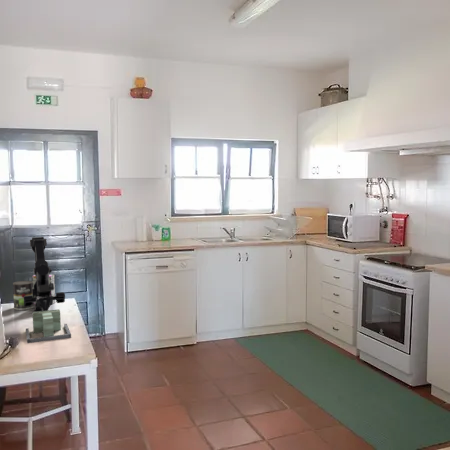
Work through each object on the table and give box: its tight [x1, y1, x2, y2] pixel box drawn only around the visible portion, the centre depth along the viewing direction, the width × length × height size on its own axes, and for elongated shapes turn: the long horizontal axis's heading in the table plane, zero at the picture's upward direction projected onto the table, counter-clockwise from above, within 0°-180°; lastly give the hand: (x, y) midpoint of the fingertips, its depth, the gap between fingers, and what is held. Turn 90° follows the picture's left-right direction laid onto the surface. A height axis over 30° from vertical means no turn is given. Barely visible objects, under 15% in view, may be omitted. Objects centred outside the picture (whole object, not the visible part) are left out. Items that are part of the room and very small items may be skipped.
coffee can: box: [12, 280, 35, 311], centre depth 277 cm, size 10×10×14 cm
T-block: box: [32, 308, 62, 337], centre depth 232 cm, size 14×12×9 cm
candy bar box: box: [31, 274, 56, 305], centre depth 285 cm, size 11×5×16 cm, turn 84°
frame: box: [25, 323, 72, 344], centre depth 230 cm, size 18×18×2 cm
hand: (45, 314), depth 238 cm, fingers closed, pressing on T-block
